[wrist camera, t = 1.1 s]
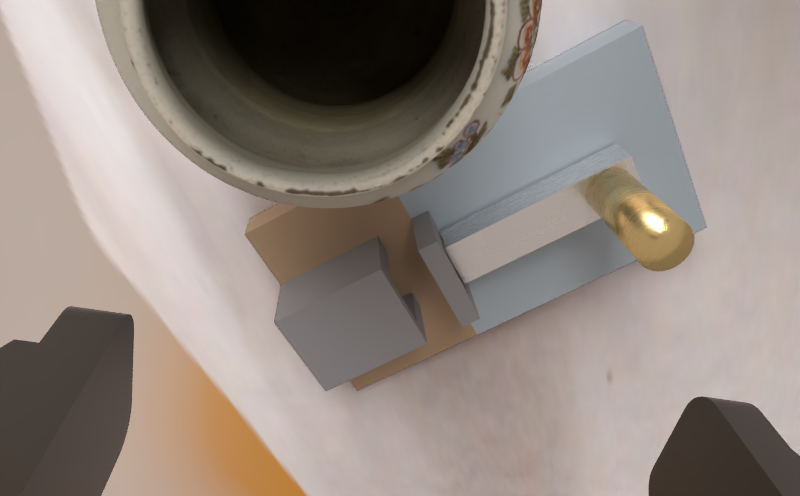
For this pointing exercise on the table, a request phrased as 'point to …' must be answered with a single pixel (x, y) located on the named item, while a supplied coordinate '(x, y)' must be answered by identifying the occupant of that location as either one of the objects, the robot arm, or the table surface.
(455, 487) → the table surface
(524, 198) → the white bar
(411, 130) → the apothecary jar
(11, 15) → the table surface
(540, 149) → the door and jamb lock plate
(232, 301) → the table surface
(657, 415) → the table surface
